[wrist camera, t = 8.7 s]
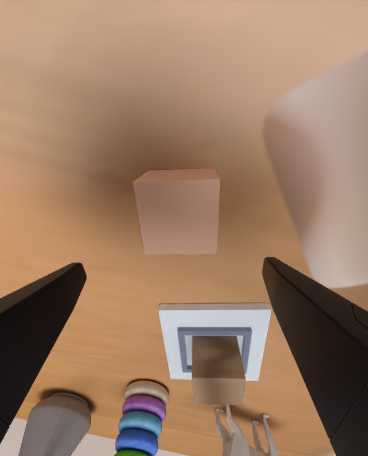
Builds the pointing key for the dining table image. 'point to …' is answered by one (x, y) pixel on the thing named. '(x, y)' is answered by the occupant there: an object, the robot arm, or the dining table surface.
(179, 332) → the board
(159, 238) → the terracotta block
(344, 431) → the robot arm
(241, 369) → the walnut block
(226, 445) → the cat figurine
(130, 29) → the dining table surface
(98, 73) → the dining table surface
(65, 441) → the coffee pot
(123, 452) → the stacking toy
